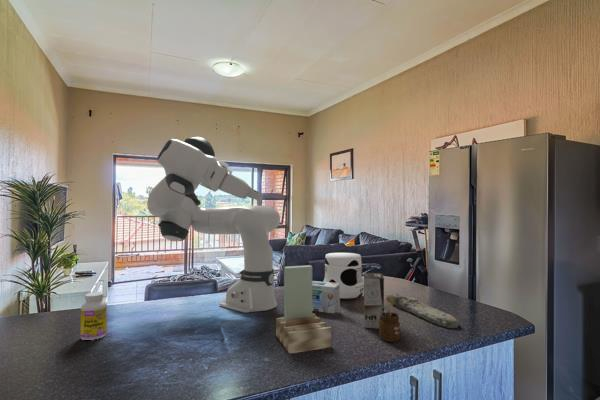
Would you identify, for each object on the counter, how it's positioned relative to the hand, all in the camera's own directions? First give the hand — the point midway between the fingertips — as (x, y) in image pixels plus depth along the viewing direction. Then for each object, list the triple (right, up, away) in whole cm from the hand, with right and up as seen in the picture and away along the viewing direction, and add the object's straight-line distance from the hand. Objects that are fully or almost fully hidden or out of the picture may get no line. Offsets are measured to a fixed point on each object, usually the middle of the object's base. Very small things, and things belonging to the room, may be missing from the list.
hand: (260, 196), depth 99 cm
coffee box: (+36, -42, +12) cm, 57 cm away
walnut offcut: (+13, -40, -5) cm, 42 cm away
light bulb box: (+20, -42, +23) cm, 53 cm away
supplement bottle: (-50, -42, +1) cm, 65 cm away
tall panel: (+11, -40, -2) cm, 42 cm away
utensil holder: (+38, -42, 0) cm, 57 cm away
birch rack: (+13, -42, -5) cm, 44 cm away
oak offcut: (+14, -40, -9) cm, 43 cm away
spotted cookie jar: (+30, -43, +44) cm, 68 cm away
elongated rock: (+55, -43, +25) cm, 74 cm away
